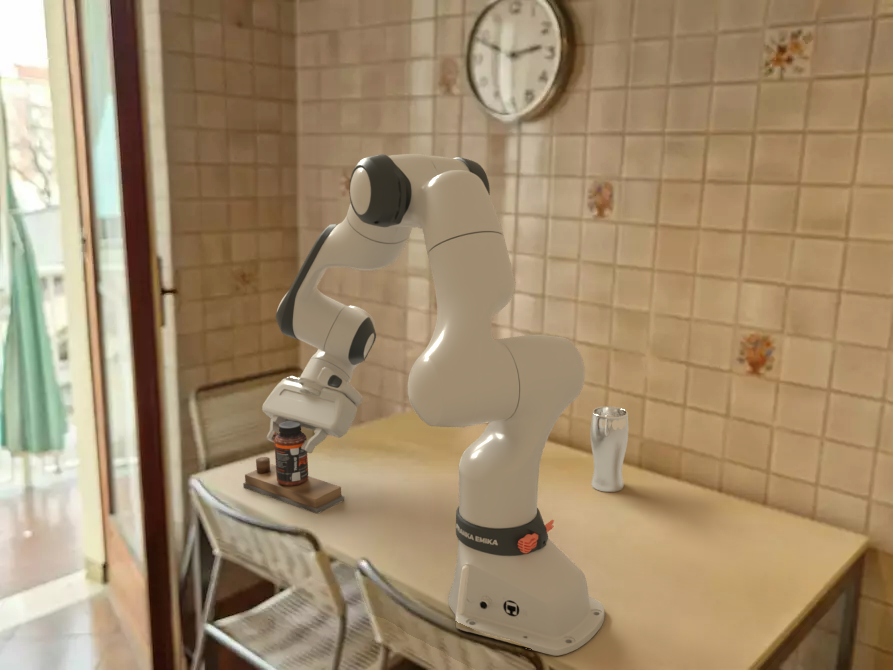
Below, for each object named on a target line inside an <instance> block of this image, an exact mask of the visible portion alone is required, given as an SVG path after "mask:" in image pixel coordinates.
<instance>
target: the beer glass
mask: <svg viewBox="0 0 893 670" xmlns="http://www.w3.org/2000/svg"><path fill="white" fill-rule="evenodd" d="M591 416H592V417H591V424H590V444H591V445H590V446H591V452H592V459H593V460H592V461H593V473H592V477H591V478H592V480H591V481H590V483H591V487H592V488H593V489H594V490H597V491H600V492H603V493H615V492H619V491H621V490H623V488H624V477H623V465H624V464H623V463H624V460H625V455H626V451H627V447H628V440H629V412H628V411H627V410H626V409H625V408H622V407H618V406H613V405H611V406H610V405H607V406H606V405H605V406H604V405H603V406H598V407H595V408H593V410H592V415H591Z"/></svg>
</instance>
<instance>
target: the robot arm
mask: <svg viewBox="0 0 893 670" xmlns="http://www.w3.org/2000/svg"><path fill="white" fill-rule="evenodd" d="M490 189H491V188H490V182H489V178H488V177H487V173H486V171H485V169H484V168H483V167H482V166H481V164H479V163H478V162H477V161H474V160H472V159H468V158H464V157H460V156H458V157H452V158H451V157H446V156H439V155H432V154H431V155H430V154H429V155H428V154H427V155H426V154H423V153H403V154H402V153H401V154H391V155H388V154H385V153H384V154H375V155H370V156H367V157H364V158H362V159H360V161H358V162H357V164H356V165H355V167H353V170H352V172H351V175H350V180H349V192H348V193H349V200H350V204H349V207H348V210H347V213H346V216H345V217H344V219H343V221H341V222H340V223H335V224H333V223H332V224H329V225H328V226H327V227H326V228H325V229H324V230H323V231H322V232H321V233H320V235H319V236H318V237H317V239H316V240H315V241H314V243H313V245H312V247H311V249H310V250H309V252H308V254H307V256H306V258H305V259H304V261H303V262H302V265H301V268H299V270H298V272H297V275H296V276H295V278H294V280H293V282H292V284H291V286H290V288H289V290H288V291H287V292H286V294H285V295H284V296H283V297H282V299H281V300H280V303H279V304H278V307H277V310H276V314H275V321H276V323H277V325H278V327H279V329H280V332H281V333H282V335H285V336H287V337H290V338H292V339H295V340H298V341H301V342H303V343H305V344H307V345H309V346H312V348H313V347H314V348H316V349H317V351H316V352H315V353H314V354H313V355H312V356H311V358H309V361H308V362H307V363H306V365H305V368H304V370H303V371H302V372H301V375H300V376H299V377H297V376H294V375H289V376H287V377H284V378H283V379H281V381H279V383H277V385H276V386H275V387H274V388H273V389H272V391H271V392H270V393H269V394H268V396H267V398H266V399H265V401H264V402H263V404H262V412H263V413H264V414H265V415H266V416H267V417H268V418H270V421H269V431H268V433H267V435H266V439H267V441H269V442H271V443H275V437H276V436H277V435H278V434H279V424H280V423H283V422H287V421H297V422H299V423H300V424H301V428H303V429H306V430H311V431H313V433H314V434H313V435H312V436H311V437H310V438H309V439H307V440H305V441H304V443H303V445H302V446H301V449H302V450H303V451H304V452H307V454H312V453H313V452H314V450H315V448H316V447H317V446H318V445H320V444H321V443H322V442H324V441H325V439H326V438H327V436H328V435H329V436H333V437H336V438H342V437H344V436H345V435H346V434H347V433H348V432H349V430H350V428H351V426H352V424H353V422H354V420H355V418H356V415H357V413H358V412H357V411H358V406H360V405H361V404H362V402H363V400H364V397H363V395H362V394H361V393H360V392H359V391H358V390H357V389H356V388H355V387H354V386H353V385H352V384H351V383H350V382H351V380H352V376H353V373H354V370H355V369H356V367H357V366H359V365H360V364H361V363H364V362H365V360H366V359H367V357H368V355H369V353H370V351H372V347H373V346H374V343H375V342H376V339H377V332H376V330H375V328H376V321H375V319H374V318H373V316H372V315H371V314H370V313H369V312H368V311H367V310H366V309H364V308H361V307H359V306H357V305H346V304H345V303H342V302H340V301H338V300H336V299H334V298H331V297H330V296H327V295H325V294H324V293H322V292H321V290H319V289H318V286H319V284H320V282H321V280H322V279H323V276H324V275H325V274H326V272H327V270H328V269H329V268H345V269H346V268H347V269H353V270H358V271H376V270H381V269H384V268H386V267H389V266H390V265H392V264H394V263H395V262H396V261H397V260H398V259H399V258H400V256H401V255H402V253H403V251H404V249H405V248H406V246H407V243H408V241H409V240H410V239H409V238H410V236H411V234H412V230H413V228H418V229H422V233H423V237H424V238H423V239H424V243H425V244H424V245H425V248H426V254H427V258H428V263H429V267H430V271H431V275H432V282H433V287H434V292H435V300H436V321H435V326H434V330H433V333H432V336H431V339H430V341H429V342H428V344H427V346H426V348H425V349H424V350H423V352H422V353H421V354H420V355H419V356H418V357H417V358H416V360H415V361H414V363H413V364H412V366H411V369H410V371H409V374H408V379H407V396H408V399H409V404H410V405H411V407H412V409H413V411H414V412H415V414H416V415H417V417H418V418H420V419H421V421H423V423H425V424H426V425H428V426H429V427H440V428H441V427H442V428H466V427H471V426H478V425H483V424H487V423H488V424H487V426H486V427H485V429H484V431H483V432H482V434H480V436H479V437H478V438H477V439H475V440H474V441H473V442H471V444H469V446H468V447H466V449H465V450H464V452H463V453H462V454H461V457H460V460H459V464H458V504H459V505H458V507H457V508H456V511H455V535H456V538H457V539H458V540H457V541H458V544H457V545H458V546H457V554H456V555H457V557H456V564H455V571H454V576H453V581H452V583H451V584H452V585H451V589H450V591H449V594H448V598H447V599H448V605H449V607H450V609H451V610H452V612H453V614H454V616H455V619H454V622H455V621H457V622H458V623H461V624H463V625H465V626H467V627H470V628H472V629H474V630H476V631H480V632H483V633H486V634H490V635H493V636H497V637H502V638H506V639H510V640H513V641H515V642H518V643H520V644H522V645H525V646H527V647H529V648H531V649H532V650H531V649H530V650H531V651H535V652H539V653H543V654H546V655H550V656H554V657H555V656H556V657H557V656H562V655H566V654H569V653H571V652H573V651H576V650H578V649H579V648H581V647H582V646H584V645H585V644H586V643H588V642H589V641H591V639H592V638H593V637H594V636H595V635H596V634H597V632H599V630H600V629H601V628H602V625H603V624H604V621H605V616H606V615H605V607H604V603H602V602H601V601H599V600H598V599H595V598H593V597H591V596H589V595H590V594H589V589H588V587H589V586H588V583H587V578H586V576H585V573H584V572H583V570H582V569H580V568H579V566H578V565H576V564H575V563H574V562H573V561H572V560H571V559H570V558H569V557H568V556H567V555H566V554H565V553H564V552H563V551H562V550H561V548H559V547H558V546H557V545H556V543H554V542H553V541H552V540H551V539H550V538H549V533H548V532H550V531H551V530H552V529H553V528H554V527H555V526H554V525H553V524H554V521H555V519H551V520H550V521H548V523H546V524H545V522H544V519H543V517H542V514H541V512H540V509H539V507H538V495H539V494H538V493H539V492H538V491H539V489H538V488H539V478H540V475H539V474H540V464H541V460H542V457H543V452H544V449H545V447H546V444H547V441H548V439H549V436H550V434H551V432H552V430H553V428H554V427H555V424H556V423H557V421H558V420H559V418H560V417H561V415H562V414H563V413H564V412H565V410H567V408H568V407H569V406H570V405H571V404H572V403H573V402H574V401H575V400H576V399H577V398H578V397H579V396H580V394H581V393H582V390H583V387H584V384H585V379H586V369H585V362H584V360H583V357H582V355H581V352H580V351H579V349H578V347H577V346H576V345H575V344H574V343H573V342H572V341H571V340H570V339H568V338H567V337H564V336H559V335H558V336H557V335H550V334H537V333H536V334H527V335H526V334H525V335H520V336H519V335H518V336H512V337H503V338H497V339H495V338H494V334H493V329H492V325H493V323H492V321H493V317H494V316H495V315H497V314H498V313H499V312H501V311H502V310H503V309H504V308H506V307H507V306H508V304H509V303H510V301H511V300H512V298H513V297H514V293H515V291H516V279H515V274H514V272H513V267H512V263H511V259H510V256H509V255H510V254H509V251H508V247H507V244H506V239H505V236H504V232H503V229H502V225H501V222H500V219H499V216H498V212H497V211H496V210H497V209H496V207H495V206H494V203H493V200H492V198H491V195H490V193H491V192H490V191H491V190H490Z"/></svg>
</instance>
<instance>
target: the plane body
mask: <svg viewBox="0 0 893 670" xmlns="http://www.w3.org/2000/svg"><path fill="white" fill-rule="evenodd" d="M255 463H256V466H255V467H256V470H255V469H254V470H253V471H250V472H248V473H246V474H244V482H243V483H242V485H243V488H244V489H248V490H251V491H253V492H256V493H259V494H262V495H265V496H267V497H269V498H272V499H276V500H278V501H281V502H284V503H286V504H289V505H291V506H295V507H297V508H299V509H300V508H301V509H303V510H306V511H308V512H311V513H314V514H319V513H321V512H324V511H325V510H327V509H329V508H331V507H333V506H335V505H337V504H339V503H341V502H343V501H344V500H345V496H344V495H342V486H339V485H336V484H333V483H332V482H327V481H325V480H321V479H318V478H315V477H312V476H309V475H308V480H307V481H306V482H304V483H302V484H300V485H295V486H286V485H282V484H280V483H278V481H277V476H276V464H272V463H271V459H270V458H269V457H268V456H261V457H257V458H256V459H255Z"/></svg>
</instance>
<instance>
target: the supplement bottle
mask: <svg viewBox="0 0 893 670" xmlns="http://www.w3.org/2000/svg"><path fill="white" fill-rule="evenodd" d="M305 440H307V441H308V439H307V435H306V434H305V433H304V432H302V427H301V424H300V423H299V422H297V421H287V422H283V423H280V424H279V431H278V435H277V436H276V437H275V442H274V458H275V465H276V476H277V481H278V483H280V484H282V485H286V486H295V485H300V484H302V483H304V482H306V481H307V480H308V476H309V465H308V464H309V463H308V462H309V461H308V453H307V452H304V451H303V450H302V449H301V446H302V445H303V443H304V441H305Z"/></svg>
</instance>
